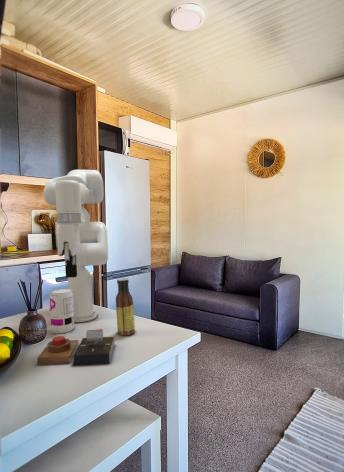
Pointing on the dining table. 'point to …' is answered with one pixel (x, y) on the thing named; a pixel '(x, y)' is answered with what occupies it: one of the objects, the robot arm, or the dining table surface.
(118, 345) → the dining table surface
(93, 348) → the switch base
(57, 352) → the button block
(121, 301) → the sauce bottle
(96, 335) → the grey flat block
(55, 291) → the supplement can
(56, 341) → the button
